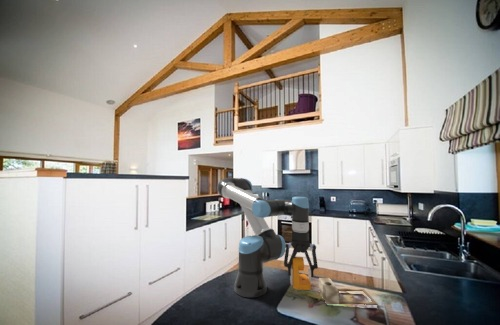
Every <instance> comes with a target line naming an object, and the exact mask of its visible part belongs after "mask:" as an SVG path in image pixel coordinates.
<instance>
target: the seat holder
mask: <svg viewBox="0 0 500 325" xmlns="http://www.w3.org/2000/svg"><path fill="white" fill-rule="evenodd" d="M319 291H320V292H319ZM339 291H363V292H364V293H365V294H366V295H367V296H368V297H369V298H370V299H371V301H372V302H369V301H359V300H357V301H356V300H344V299H343V300H340V298H339V297H340V296H339ZM318 292H319V293H321V294H320V296H321V295H322V296H321V298H322V297H323V298H322V300H323V299H324V300H325V302H326V304H364V305H365V304H366V305H378V306H379V304H378V303H377V301H376V300H375V299H374V298H373V297H372V296H371V295H370V294H369V293H368V292H367V291H366V290H365V289H364V288H349V287H346V288H345V287H344V288H343V287H337V286H336V285H335V284H334V282H333V281H332V279H331V278H329V277H328V278H327V277H319V278H318ZM324 300H323V301H324ZM325 302H324V303H325ZM326 304H325V305H326Z"/></svg>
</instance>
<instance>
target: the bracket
mask: <svg viewBox="0 0 500 325" xmlns="http://www.w3.org/2000/svg"><path fill="white" fill-rule="evenodd" d="M291 267H292V269H293V285H291V286H292V288H293V289H294V290H301V291H302V290H305V291H311V290H312V282H311V283H310V281H309V279H308V274H304V273H299V272H300V271H304V270H305V260H304V257H302V256H295V258H293V264H292V266H291Z"/></svg>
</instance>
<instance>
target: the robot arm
mask: <svg viewBox="0 0 500 325" xmlns="http://www.w3.org/2000/svg"><path fill="white" fill-rule="evenodd" d="M216 189H217V193H218V194H219V195H220V196H221V197H223V198H225V199H230V200H232V201H233V202H236V203H238V204H239V205H240V207H241V209H242V212H243V213H244V215H245V216H246V219H247V221H248V223H249V225H250V227H251V229H252V231H253V233H254V235H247V236H245V237H244V236H243V237H242V238H241V239H240V240H239V244H238V270H237V271H238V273H237V275H236V277H235V278H236V279H235V282H234V288H233V290H234V292H235V294H237V295H238V296H240V297H243V298H249V299H250V298H259V297H261V296H263V295H265V294H266V293H267V282H266V278H265V274H264V264H265V263H268V262H273V261H277V260H278V259H280V258H282V257H283V256H284V260H283V266H284V268H287V275H288V276H289V277H290V278H289V282H290V285H291V286H292V285H293V269H292V267H291V266H292V264H293V258H295V257H297V254H298V253H302V254H304V255H305V258H306V261H307V262H308V266H309V267H307V269H308V270H307V272H308V274H307V277H308V279H309V281H310V283H311V284H312V278H314V271H315V269H316V270H317V269H318V268H319V267H318V260H317V252H316V249H317V246H316V245H315V243H313V244H312V243H310V232H309V230H310V225H309V224H310V220H309V218H310V217H309V215H310V214H309V212H310V206H309V205H310V204H309V198H308V197H306V196H293V197H292V198H291V199H290V200H289V199H282V198H281V199H280V198H276V199H265V198H263V197H261V196H259V195H256V194H254V193H253V190H254V189H253V184H252V181H250V180H249V179H247V178H245V177H244V178H242V177H240V178H239V177H224V178H222V179H221V180H219V182H218V183H217V187H216ZM279 216H289V217H291V230H292V231H291V241H290V242H286V241H285V238H284V237H283V236H282V235H280V234H277V233H276V232H275V229H273V228H270V226H269V225H268V223H267V221H266V220H265V218H267V217H268V218H269V217H279ZM291 247H292V248H293V250H292V252H291V256H290V258H289V254H290V249H291ZM309 248H310V249H311V256H312V260H311V258H310V255H309V253H308V249H309ZM288 260H289V262H288ZM312 261H313V263H312Z"/></svg>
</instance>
